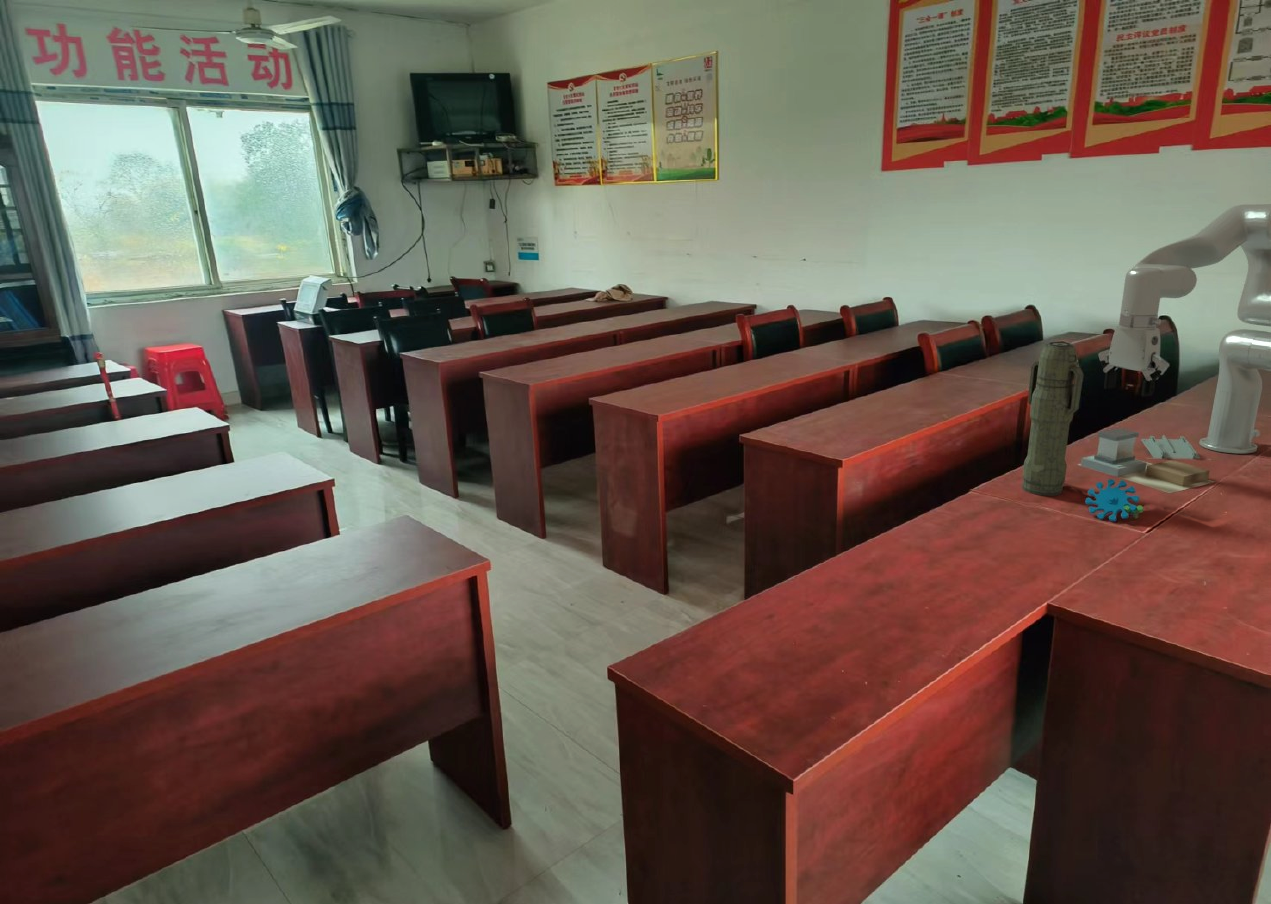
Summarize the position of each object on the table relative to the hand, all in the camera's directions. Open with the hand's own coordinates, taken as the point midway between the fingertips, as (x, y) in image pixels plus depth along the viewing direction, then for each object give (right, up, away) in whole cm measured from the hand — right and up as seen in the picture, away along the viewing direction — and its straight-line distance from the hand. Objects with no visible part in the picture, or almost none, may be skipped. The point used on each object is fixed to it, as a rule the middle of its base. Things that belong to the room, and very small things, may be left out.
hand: (1127, 391), depth 193 cm
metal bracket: (+20, -17, +14) cm, 30 cm away
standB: (0, -19, +6) cm, 20 cm away
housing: (0, -16, +5) cm, 17 cm away
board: (+5, -21, +2) cm, 21 cm away
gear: (-16, -29, -21) cm, 39 cm away
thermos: (-23, -24, -4) cm, 33 cm away
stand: (+10, -21, -3) cm, 23 cm away
